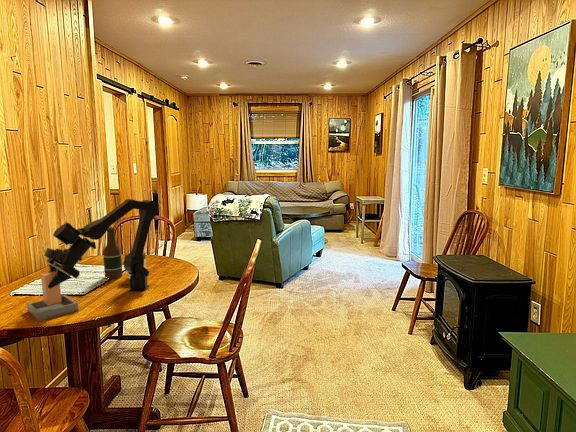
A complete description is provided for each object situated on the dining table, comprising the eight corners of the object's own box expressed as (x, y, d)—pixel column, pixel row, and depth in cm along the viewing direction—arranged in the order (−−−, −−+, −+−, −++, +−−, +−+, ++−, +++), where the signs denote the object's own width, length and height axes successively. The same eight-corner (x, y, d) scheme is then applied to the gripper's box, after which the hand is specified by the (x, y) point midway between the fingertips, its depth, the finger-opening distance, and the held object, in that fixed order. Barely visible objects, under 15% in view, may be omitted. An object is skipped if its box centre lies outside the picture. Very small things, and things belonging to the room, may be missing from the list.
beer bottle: (126, 275, 193) (123, 226, 189) (114, 280, 185) (110, 229, 182) (113, 274, 195) (110, 226, 191) (101, 278, 188) (97, 228, 184)
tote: (65, 302, 158) (65, 294, 157) (78, 310, 149) (77, 303, 148) (27, 311, 148) (26, 303, 148) (38, 321, 139) (37, 313, 139)
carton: (57, 299, 151) (54, 271, 150) (61, 302, 148) (58, 273, 146) (43, 302, 148) (40, 274, 146) (47, 305, 145) (44, 276, 143)
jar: (141, 274, 195) (140, 250, 193) (151, 277, 189) (149, 252, 188) (124, 278, 188) (122, 253, 186) (133, 281, 183) (131, 256, 181)
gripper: (50, 236, 154) (19, 269, 147) (67, 243, 141) (35, 280, 135) (73, 252, 160) (45, 285, 154) (92, 260, 148) (62, 296, 142)
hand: (46, 286), depth 146 cm, fingers closed on carton, 5 cm apart
